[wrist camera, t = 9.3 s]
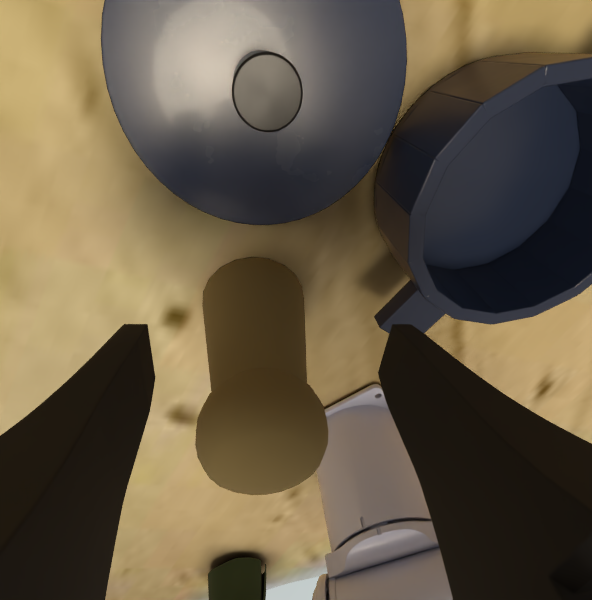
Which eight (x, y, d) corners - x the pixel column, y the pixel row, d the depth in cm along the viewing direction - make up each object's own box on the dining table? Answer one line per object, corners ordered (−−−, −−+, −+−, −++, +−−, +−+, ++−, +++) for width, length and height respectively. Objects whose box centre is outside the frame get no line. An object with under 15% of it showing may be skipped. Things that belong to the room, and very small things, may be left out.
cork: (237, 237, 20) (239, 393, 11) (323, 289, 23) (381, 449, 14) (183, 315, 23) (147, 497, 14) (267, 354, 25) (284, 528, 16)
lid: (454, 50, 17) (516, 52, 13) (289, 257, 21) (300, 302, 18) (207, -240, 12) (194, -376, 8) (61, 116, 16) (9, 138, 12)
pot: (670, 111, 19) (787, 128, 15) (430, 330, 26) (466, 385, 22) (561, -83, 15) (688, -133, 10) (298, 246, 21) (314, 295, 17)
